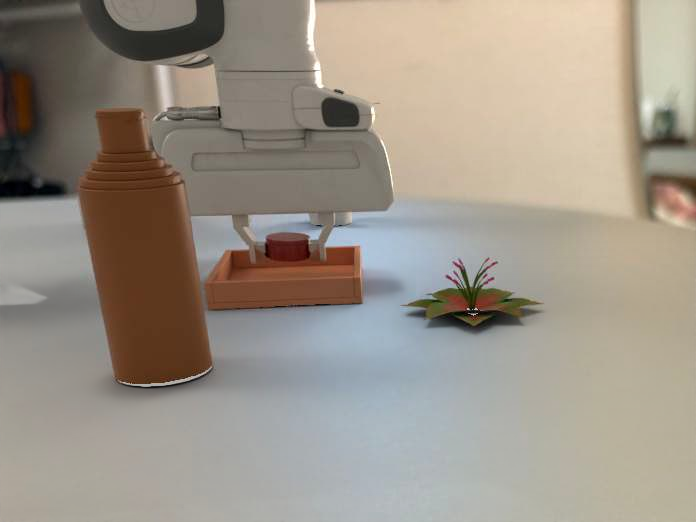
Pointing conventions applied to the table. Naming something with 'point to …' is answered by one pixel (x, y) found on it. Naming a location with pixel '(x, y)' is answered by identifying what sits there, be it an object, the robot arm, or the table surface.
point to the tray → (285, 280)
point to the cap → (287, 246)
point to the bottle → (143, 255)
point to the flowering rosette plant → (471, 299)
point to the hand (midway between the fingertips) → (289, 261)
